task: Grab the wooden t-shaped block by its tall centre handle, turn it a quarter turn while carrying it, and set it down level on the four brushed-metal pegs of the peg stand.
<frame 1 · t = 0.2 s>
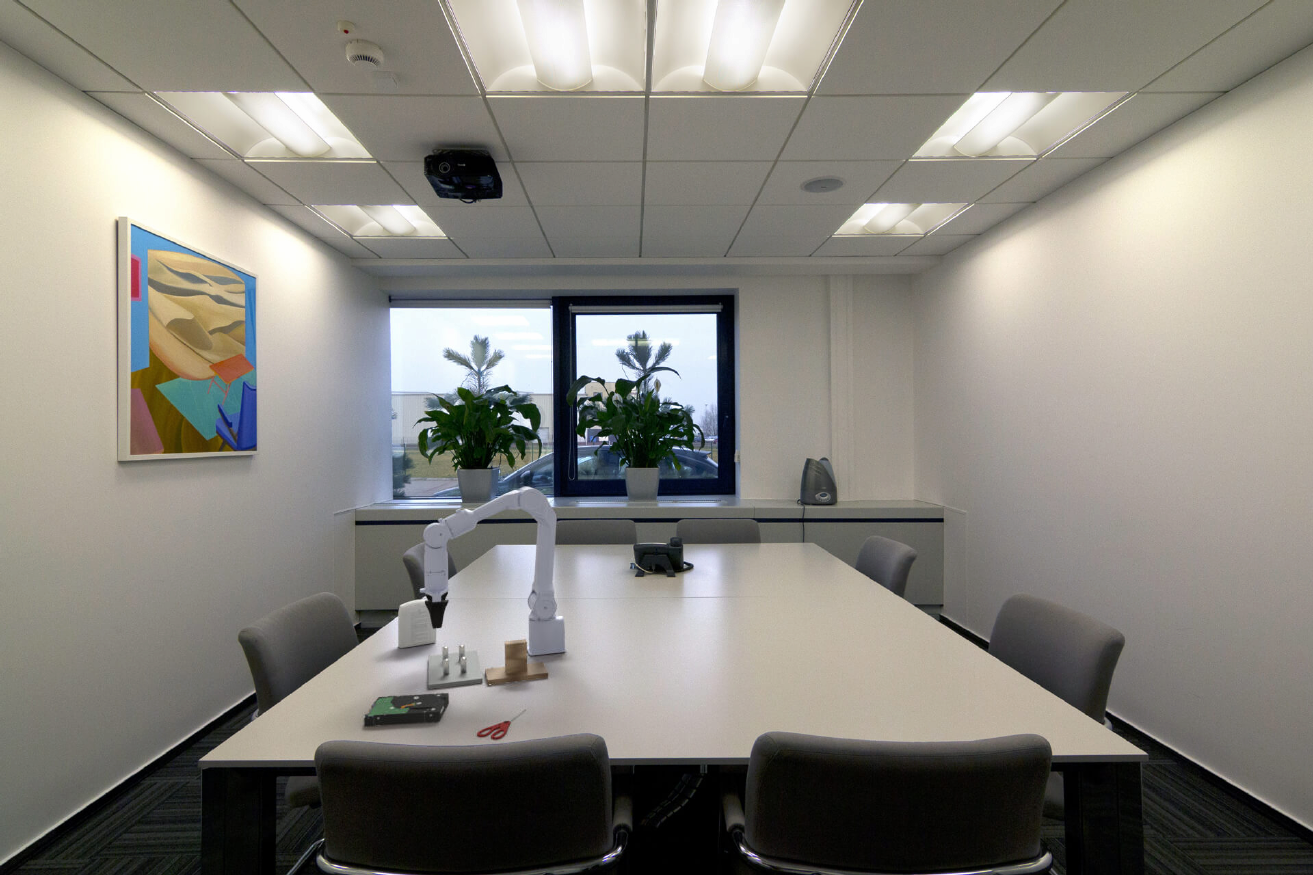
hand: (437, 624, 171), 10 cm above the table, tool pointing down, fingers open, 7 cm apart
disk drive: (408, 717, 140), on the table
white upright slab: (417, 645, 188), on the table
scissors: (507, 726, 135), on the table
wooden t-shaped block: (516, 676, 162), on the table
peg stand: (454, 670, 166), on the table
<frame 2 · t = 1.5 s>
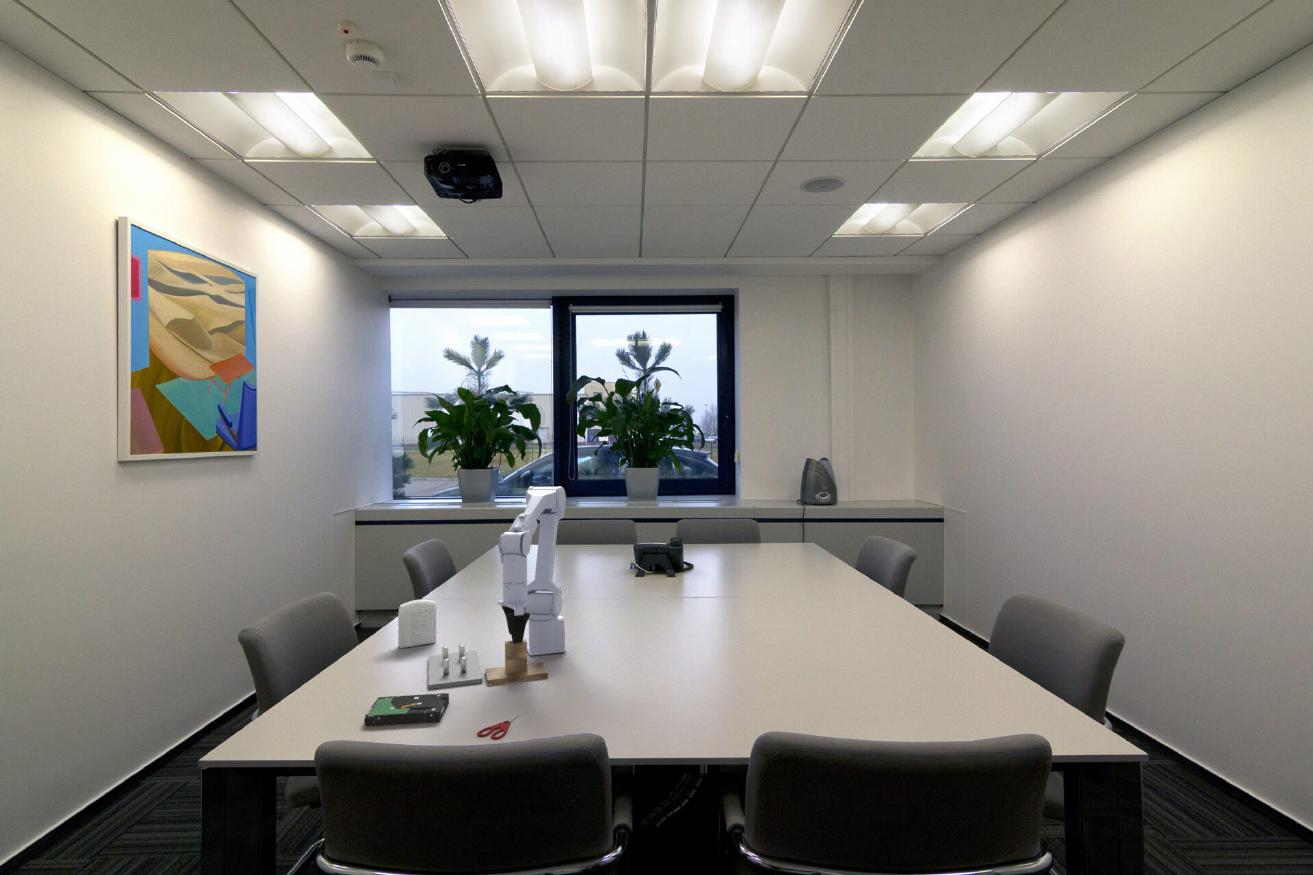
hand: (515, 638, 162), 9 cm above the table, tool pointing down, fingers open, 7 cm apart
nothing on the table moved.
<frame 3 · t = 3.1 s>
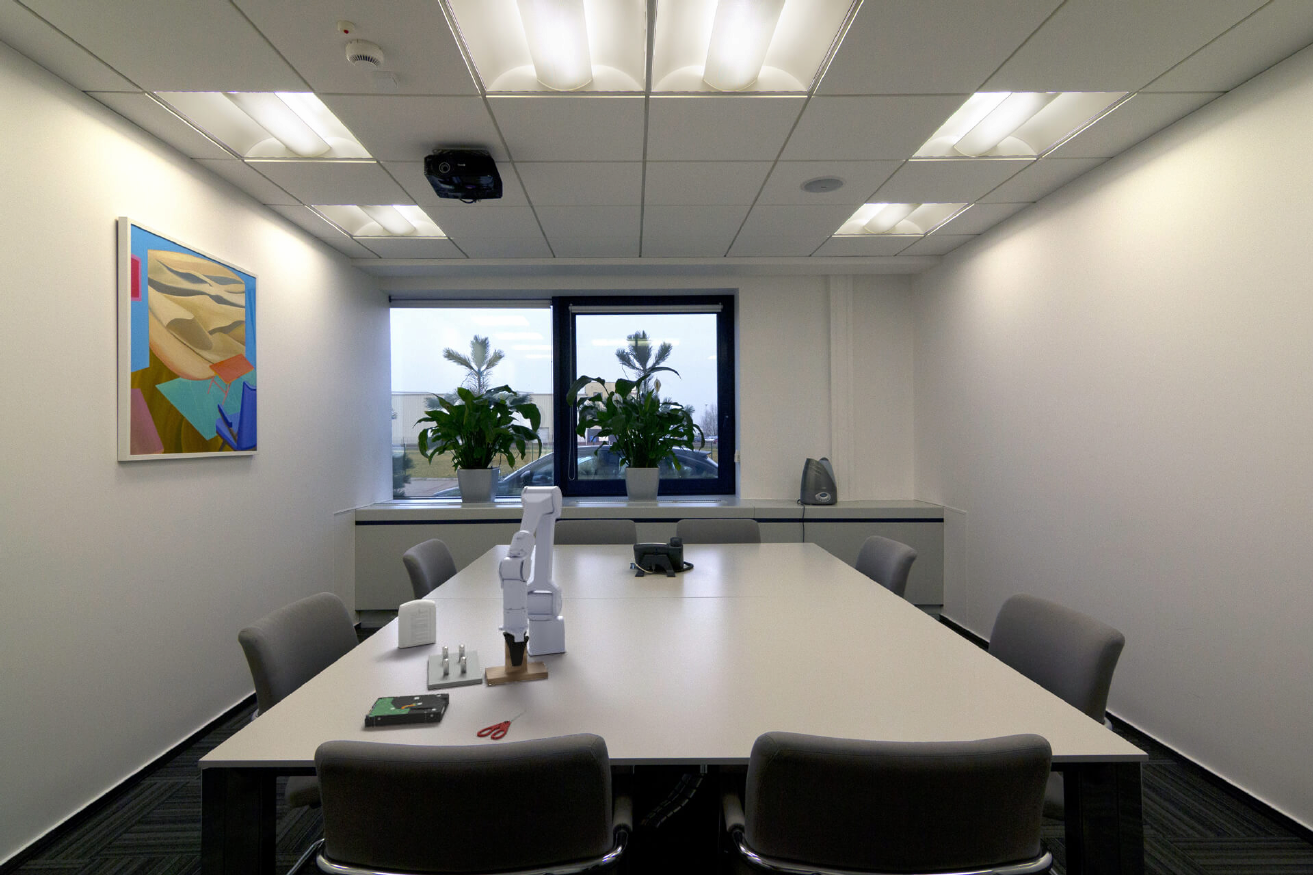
hand: (516, 663, 162), 3 cm above the table, tool pointing down, fingers closed on wooden t-shaped block, 2 cm apart
wooden t-shaped block: (516, 675, 162), on the table, touching gripper
everything else where it was.
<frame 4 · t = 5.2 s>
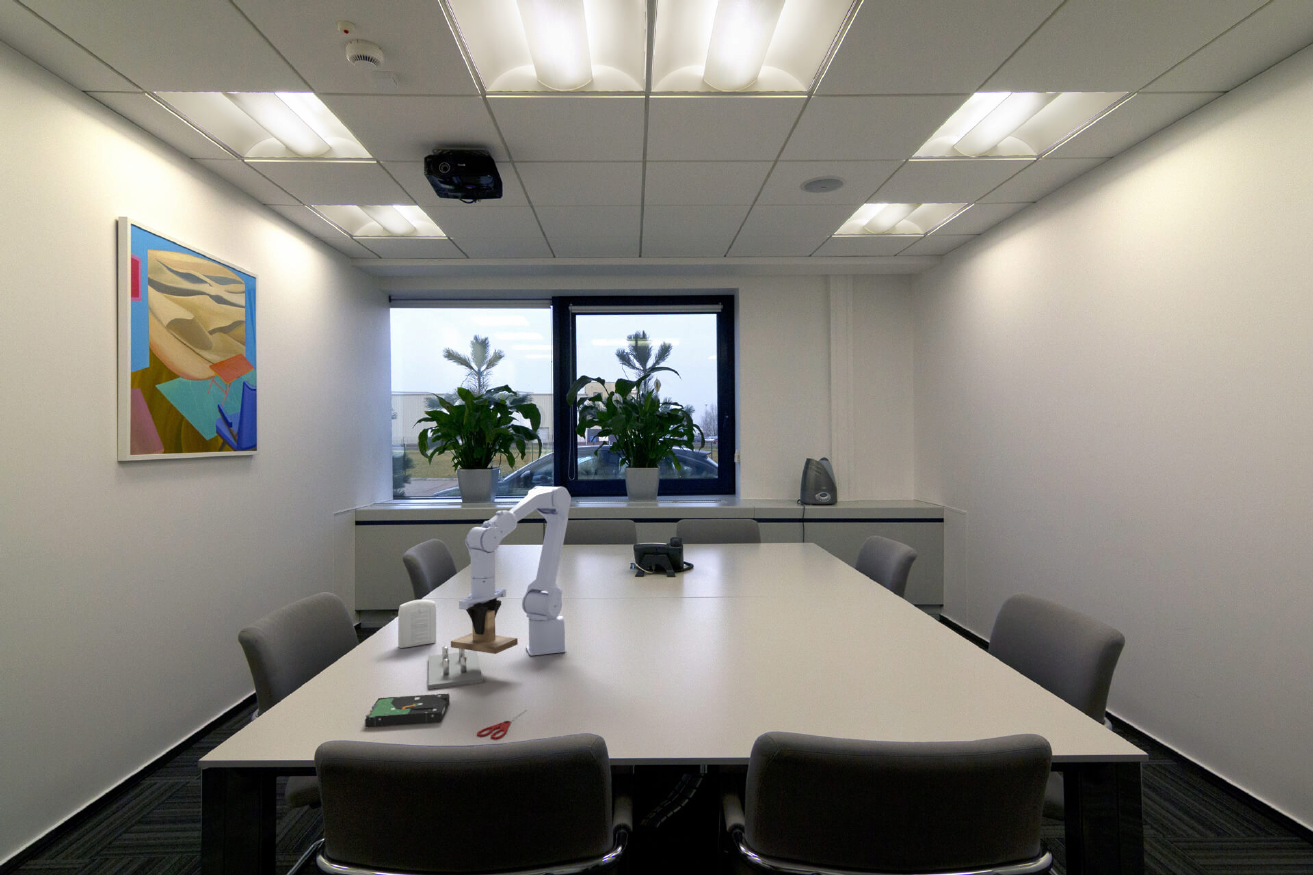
hand: (483, 632, 164), 10 cm above the table, tool pointing down, fingers closed on wooden t-shaped block, 2 cm apart
wooden t-shaped block: (484, 645, 164), point 7 cm above the table, touching gripper
everything else where it was.
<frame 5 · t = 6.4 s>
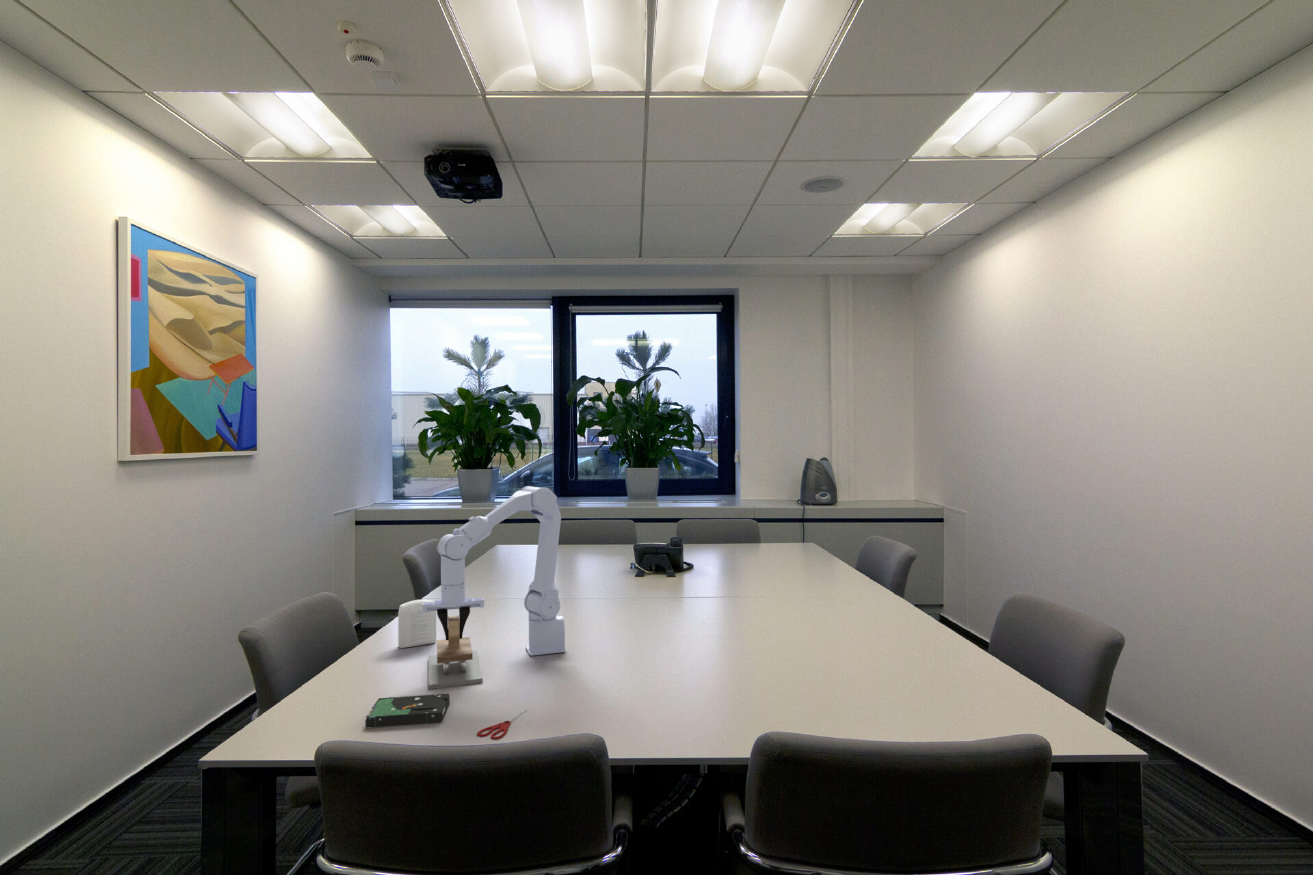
hand: (453, 638, 166), 8 cm above the table, tool pointing down, fingers closed on wooden t-shaped block, 2 cm apart
wooden t-shaped block: (454, 652, 166), point 4 cm above the table, touching gripper, peg stand
everything else where it was.
when the fingers open (8 cm above the table, at t = 7.1 s): wooden t-shaped block stays where it is, resting on peg stand.
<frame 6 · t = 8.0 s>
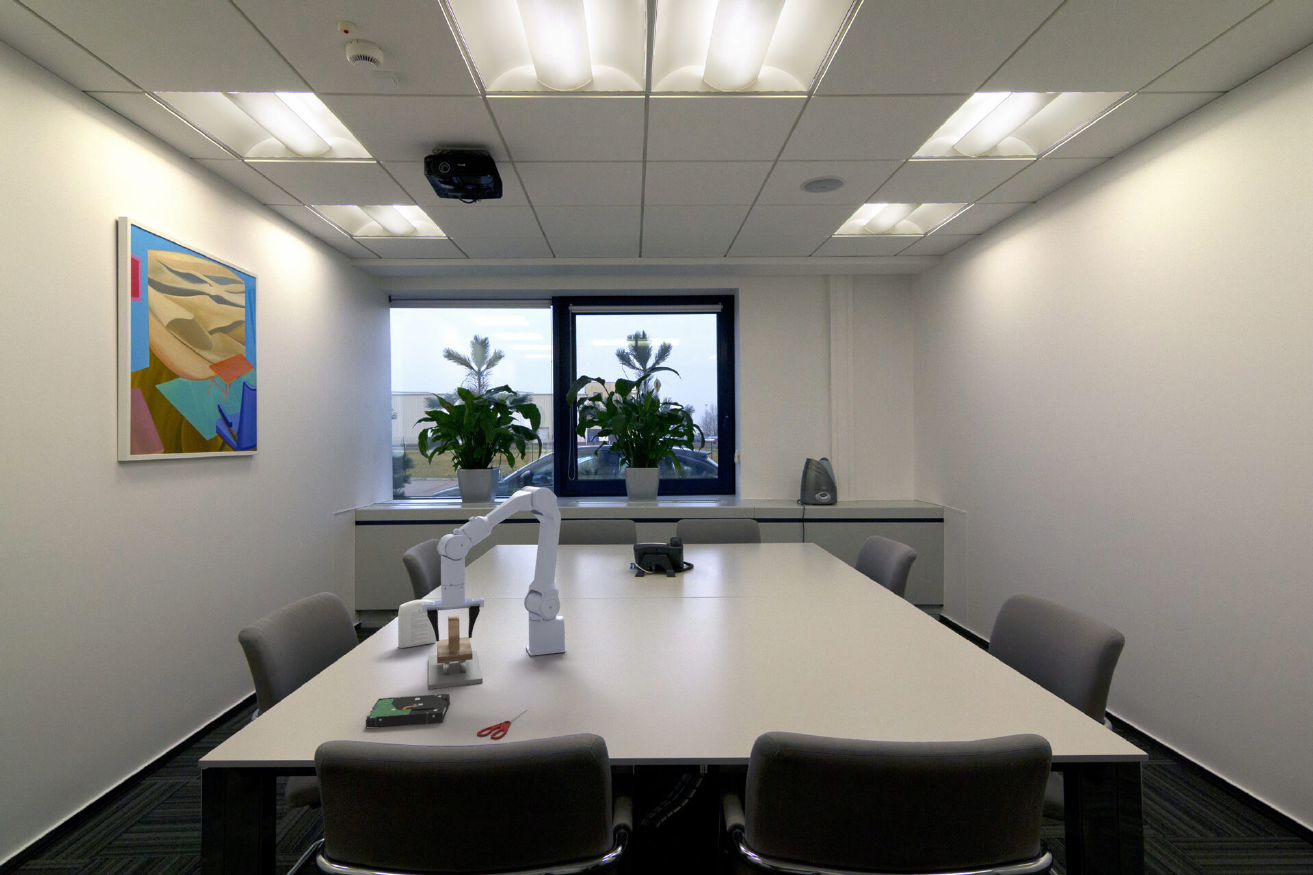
hand: (453, 638, 166), 8 cm above the table, tool pointing down, fingers open, 7 cm apart
wooden t-shaped block: (454, 652, 166), point 4 cm above the table, touching peg stand
everything else where it was.
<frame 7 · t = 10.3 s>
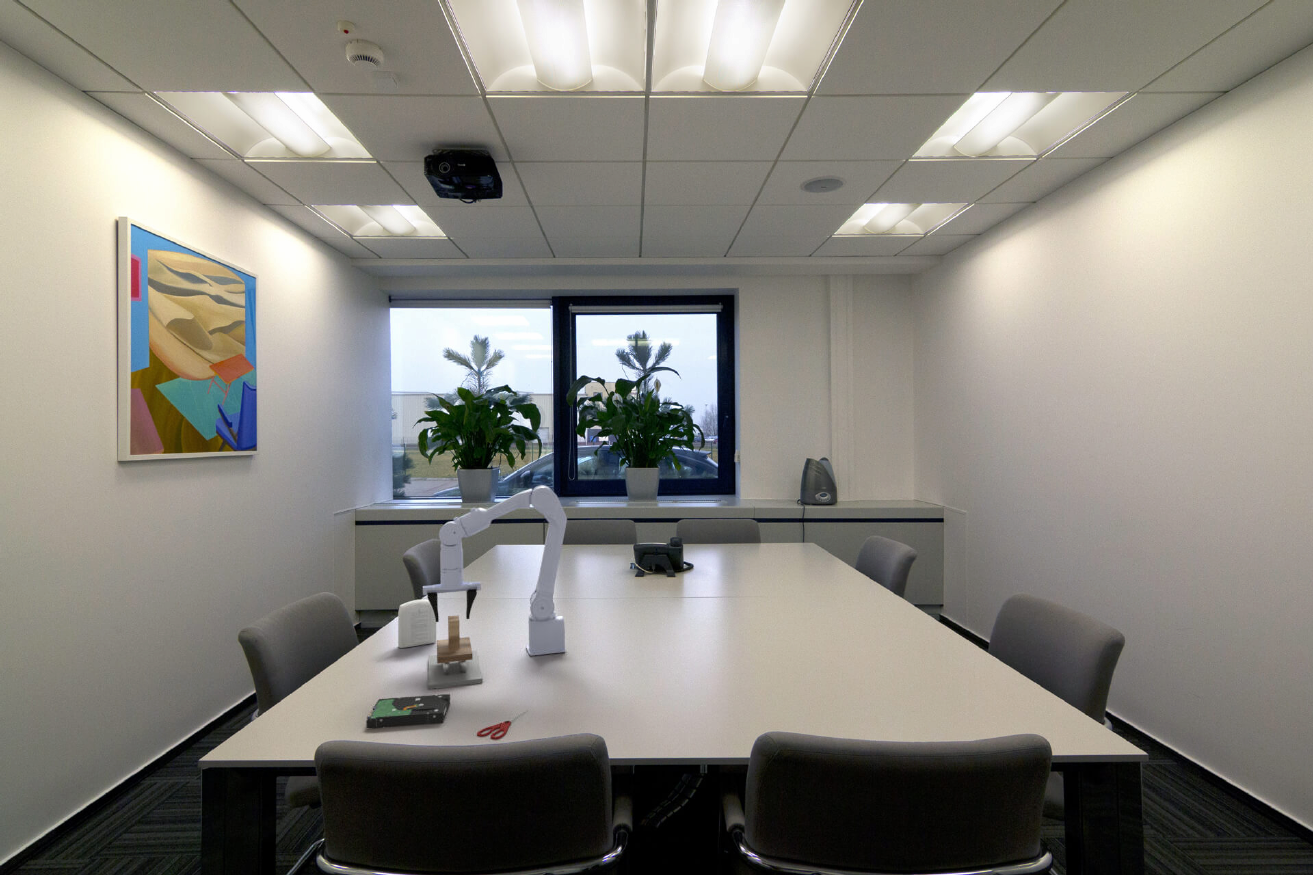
hand: (452, 619, 176), 10 cm above the table, tool pointing down, fingers open, 7 cm apart
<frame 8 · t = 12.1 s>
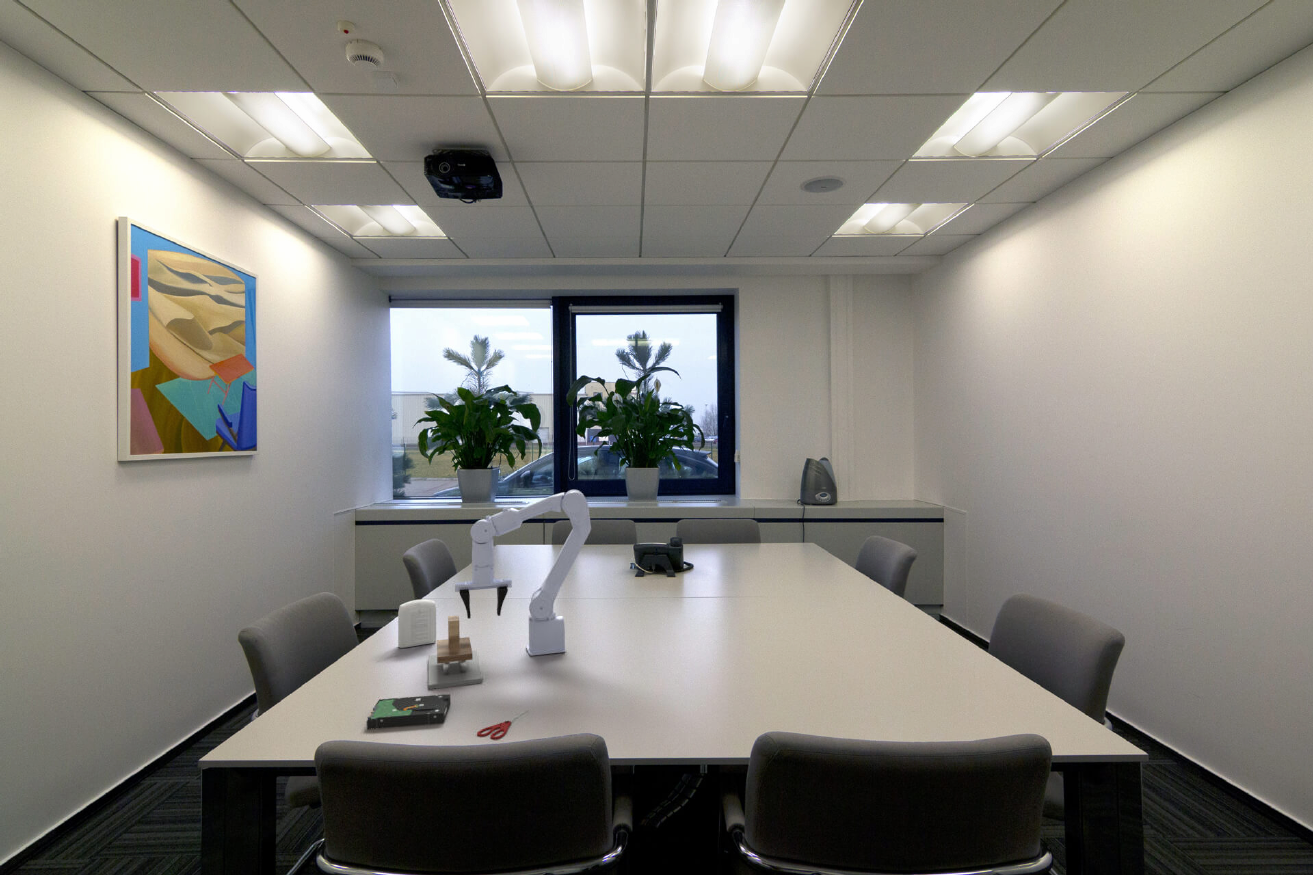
hand: (483, 616, 179), 10 cm above the table, tool pointing down, fingers open, 7 cm apart
at the end: wooden t-shaped block 0.3 cm off-centre on the peg stand, point 4.5 cm above the peg stand's base; wooden t-shaped block tilted 0°; wooden t-shaped block touching peg stand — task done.
